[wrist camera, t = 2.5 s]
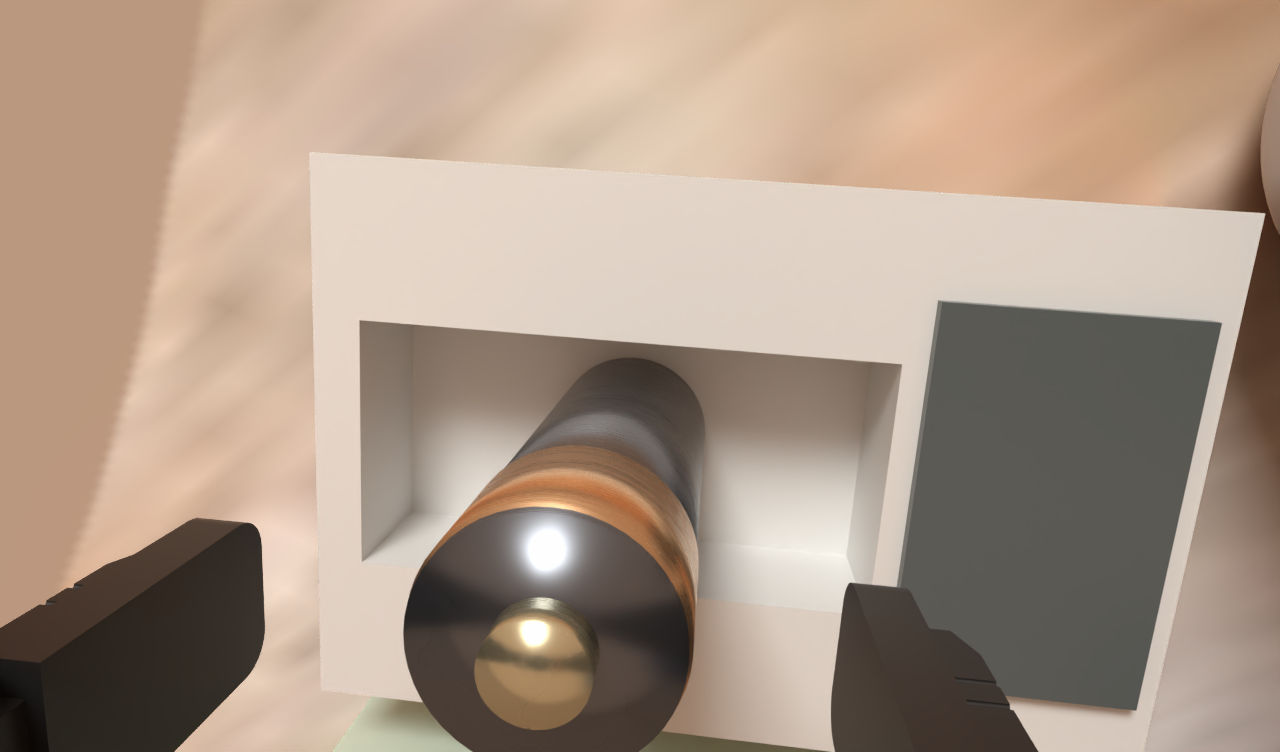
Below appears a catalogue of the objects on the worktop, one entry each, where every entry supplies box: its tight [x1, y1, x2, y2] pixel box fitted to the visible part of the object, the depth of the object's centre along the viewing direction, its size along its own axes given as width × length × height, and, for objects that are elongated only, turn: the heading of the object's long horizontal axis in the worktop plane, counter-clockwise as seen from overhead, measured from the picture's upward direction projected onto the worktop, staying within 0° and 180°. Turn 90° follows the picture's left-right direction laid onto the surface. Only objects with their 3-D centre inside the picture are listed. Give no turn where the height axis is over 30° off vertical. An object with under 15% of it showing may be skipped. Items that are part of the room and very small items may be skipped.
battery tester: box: [309, 152, 1265, 752], centre depth 18 cm, size 18×12×4 cm, turn 86°
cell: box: [403, 358, 705, 752], centre depth 15 cm, size 4×4×11 cm
